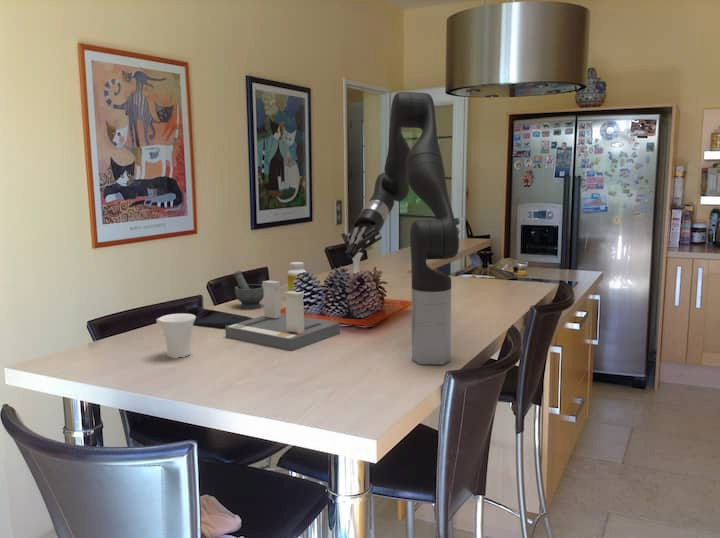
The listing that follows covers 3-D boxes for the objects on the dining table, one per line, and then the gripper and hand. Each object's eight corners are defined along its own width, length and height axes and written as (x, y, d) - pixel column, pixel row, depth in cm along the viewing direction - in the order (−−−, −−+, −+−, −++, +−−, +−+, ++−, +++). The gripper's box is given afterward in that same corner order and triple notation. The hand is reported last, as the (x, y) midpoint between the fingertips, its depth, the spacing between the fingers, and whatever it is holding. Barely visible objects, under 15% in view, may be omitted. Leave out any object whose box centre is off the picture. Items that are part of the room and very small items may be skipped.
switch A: (292, 328, 167) (290, 290, 165) (305, 330, 164) (304, 292, 162) (285, 330, 164) (284, 292, 163) (298, 333, 162) (297, 294, 160)
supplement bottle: (304, 301, 216) (303, 264, 214) (285, 300, 218) (284, 264, 216) (309, 297, 223) (308, 261, 221) (291, 296, 224) (290, 261, 222)
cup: (157, 353, 157) (155, 314, 156) (195, 348, 161) (193, 310, 159) (159, 363, 149) (157, 322, 148) (199, 358, 152) (197, 318, 151)
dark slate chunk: (222, 333, 177) (222, 317, 177) (170, 323, 190) (169, 308, 189) (259, 322, 190) (259, 306, 189) (208, 313, 202) (208, 299, 201)
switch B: (269, 314, 183) (268, 280, 181) (281, 316, 180) (280, 281, 178) (263, 316, 180) (262, 281, 179) (275, 318, 178) (274, 283, 176)
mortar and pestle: (271, 305, 210) (269, 270, 208) (253, 311, 202) (251, 274, 200) (245, 302, 215) (243, 268, 213) (226, 308, 207) (224, 272, 205)
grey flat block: (275, 322, 187) (275, 311, 187) (339, 333, 174) (339, 321, 173) (225, 337, 171) (225, 325, 171) (292, 350, 158) (291, 338, 157)
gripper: (348, 210, 184) (323, 246, 172) (387, 205, 177) (364, 243, 165) (357, 230, 188) (334, 267, 176) (396, 226, 181) (374, 265, 169)
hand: (349, 255), depth 171 cm, fingers closed
